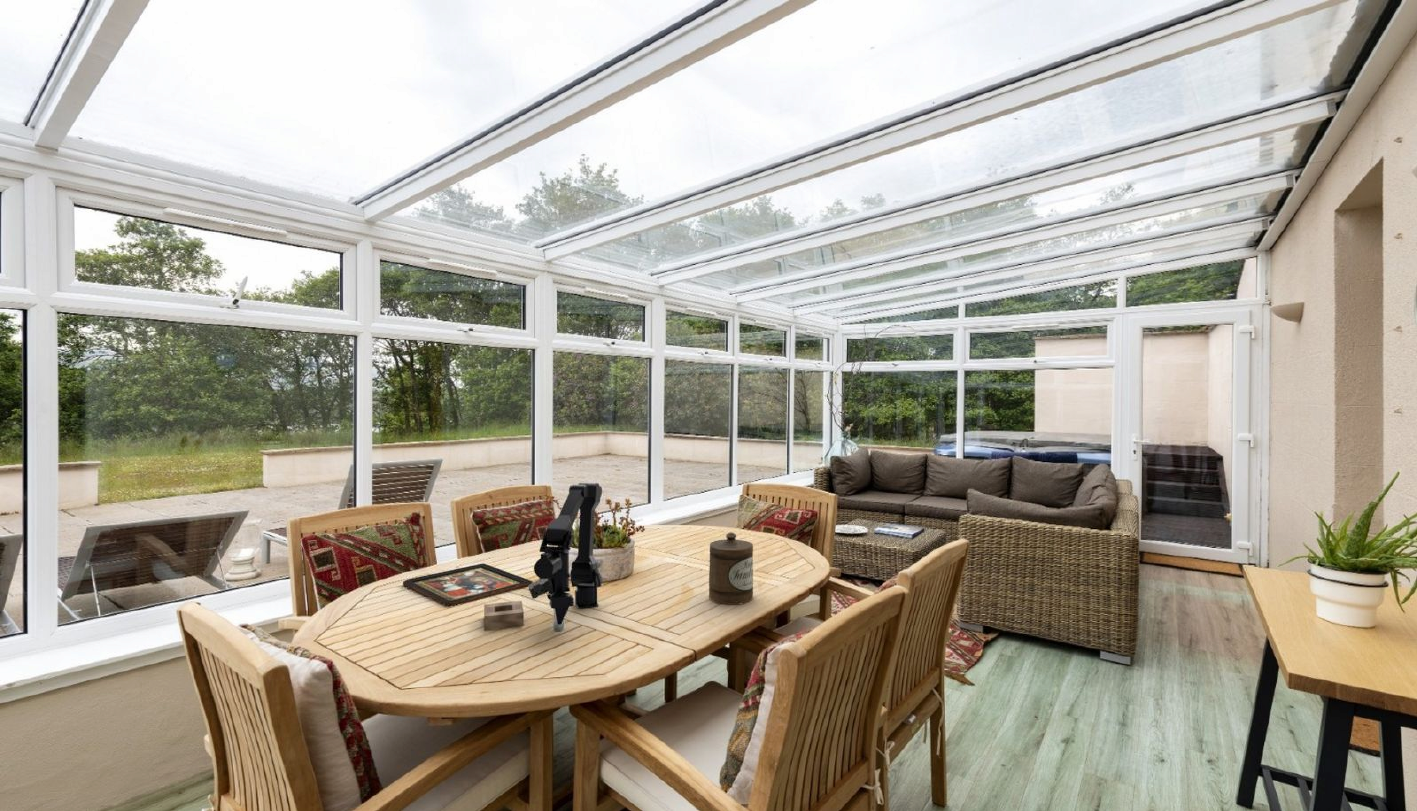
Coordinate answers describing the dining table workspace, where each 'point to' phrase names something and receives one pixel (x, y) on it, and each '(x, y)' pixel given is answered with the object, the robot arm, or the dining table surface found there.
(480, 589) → the framed icon painting
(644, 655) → the dining table surface
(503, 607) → the square hollow frame
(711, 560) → the wooden container
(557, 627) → the cylinder
